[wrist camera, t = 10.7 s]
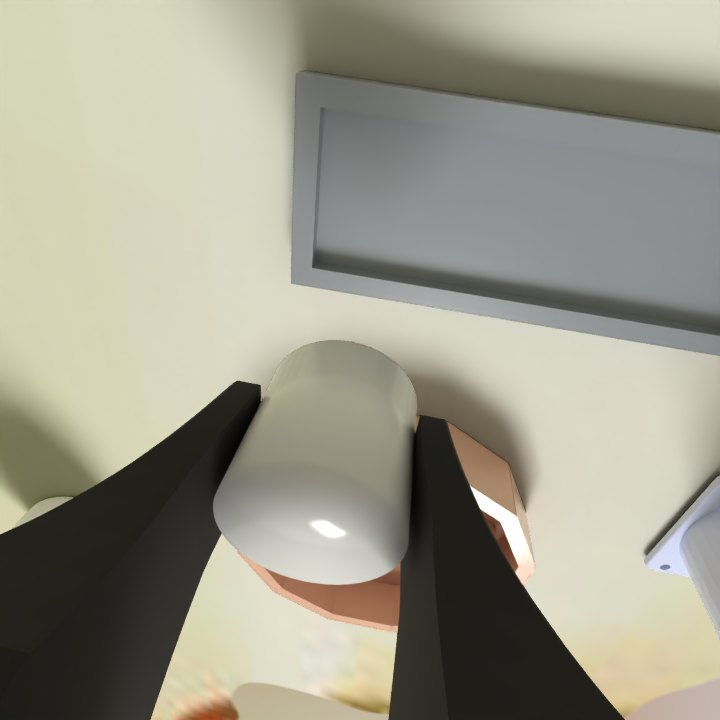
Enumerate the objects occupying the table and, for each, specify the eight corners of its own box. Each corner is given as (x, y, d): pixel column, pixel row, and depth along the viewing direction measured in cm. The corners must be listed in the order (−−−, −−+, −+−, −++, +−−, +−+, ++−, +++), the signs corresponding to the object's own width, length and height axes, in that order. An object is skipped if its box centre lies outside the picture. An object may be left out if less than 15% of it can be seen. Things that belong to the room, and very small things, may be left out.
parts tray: (862, 151, 14) (895, 160, 13) (726, 342, 18) (742, 360, 17) (305, 70, 15) (296, 72, 14) (298, 270, 19) (290, 283, 18)
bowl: (564, 442, 22) (581, 496, 19) (478, 599, 31) (482, 650, 29) (251, 386, 23) (227, 430, 20) (257, 555, 32) (242, 601, 29)
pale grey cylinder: (431, 356, 11) (427, 487, 8) (402, 464, 13) (390, 599, 10) (272, 327, 11) (205, 443, 8) (271, 439, 14) (219, 563, 10)
